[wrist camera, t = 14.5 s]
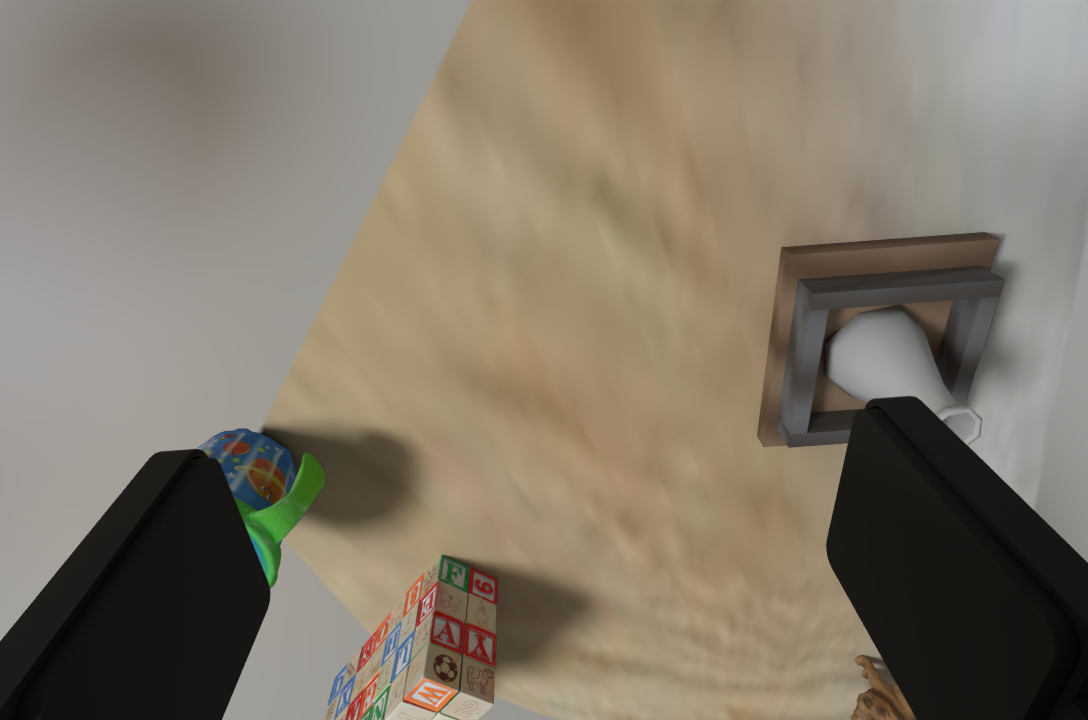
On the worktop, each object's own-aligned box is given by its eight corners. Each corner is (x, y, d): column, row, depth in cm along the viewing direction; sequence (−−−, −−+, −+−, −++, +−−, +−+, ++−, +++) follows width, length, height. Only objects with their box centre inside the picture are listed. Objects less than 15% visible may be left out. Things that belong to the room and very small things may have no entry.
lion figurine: (830, 692, 69) (870, 780, 61) (821, 664, 66) (862, 753, 58) (968, 654, 66) (1028, 741, 58) (964, 624, 64) (1026, 711, 56)
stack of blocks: (388, 696, 66) (363, 829, 55) (334, 676, 64) (297, 810, 54) (499, 577, 58) (495, 707, 47) (441, 551, 56) (423, 679, 45)
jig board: (781, 247, 43) (804, 268, 39) (984, 232, 43) (1026, 252, 39) (757, 435, 51) (774, 467, 47) (929, 422, 51) (959, 453, 47)
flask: (906, 286, 43) (1005, 357, 34) (933, 362, 46) (1030, 445, 37) (807, 337, 45) (877, 417, 36) (840, 407, 48) (911, 497, 39)
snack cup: (199, 531, 54) (136, 635, 45) (125, 437, 49) (37, 533, 40) (368, 487, 52) (337, 586, 43) (309, 385, 47) (260, 473, 38)
